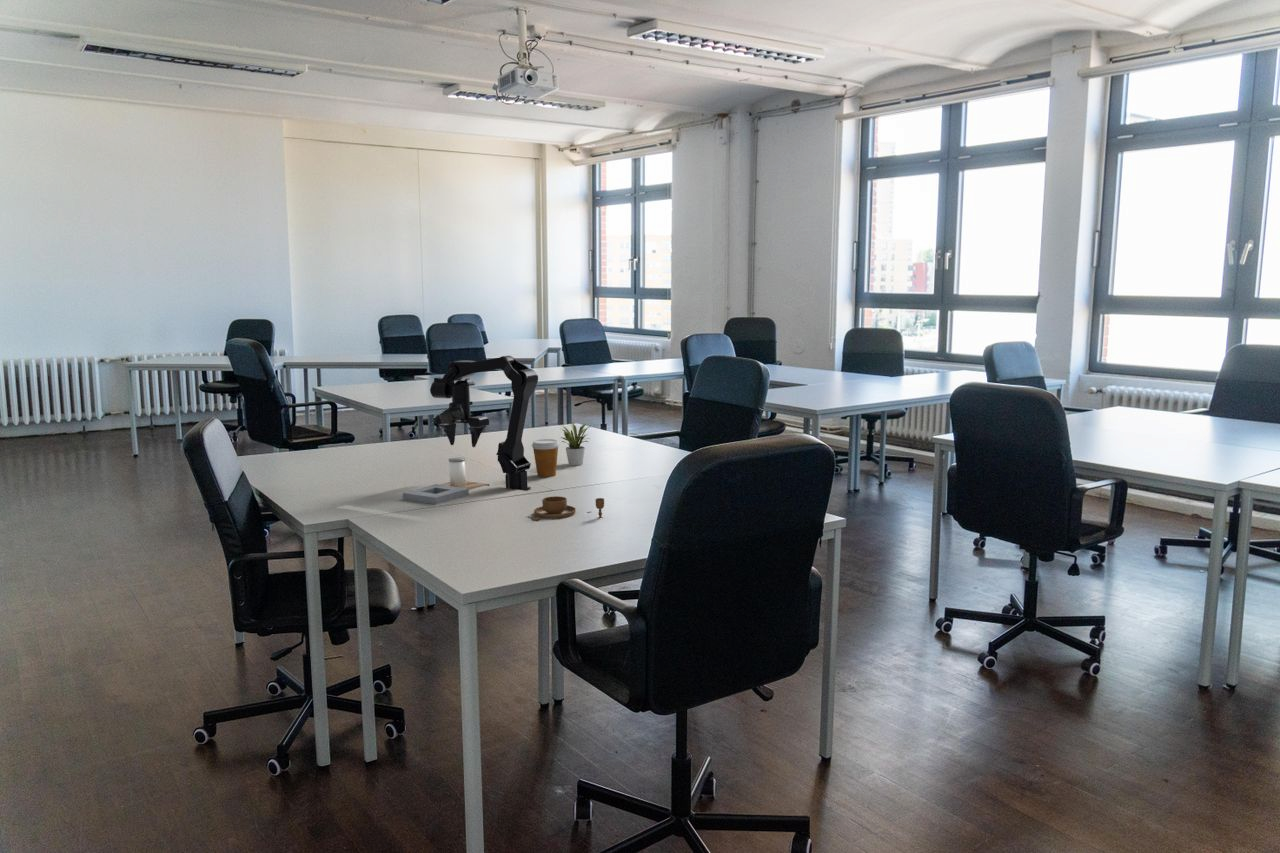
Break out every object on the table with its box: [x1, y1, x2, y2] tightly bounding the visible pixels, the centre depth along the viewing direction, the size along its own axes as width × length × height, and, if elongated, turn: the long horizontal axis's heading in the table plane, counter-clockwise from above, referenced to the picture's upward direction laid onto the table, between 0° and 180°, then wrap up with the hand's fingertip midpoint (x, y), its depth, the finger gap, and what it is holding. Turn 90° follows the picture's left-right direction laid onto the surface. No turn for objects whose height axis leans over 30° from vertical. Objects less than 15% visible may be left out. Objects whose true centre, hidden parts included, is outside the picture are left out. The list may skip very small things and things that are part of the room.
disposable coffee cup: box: [531, 438, 560, 478], centre depth 314 cm, size 10×10×12 cm
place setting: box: [525, 495, 605, 521], centre depth 257 cm, size 18×20×6 cm
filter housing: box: [402, 483, 470, 505], centre depth 280 cm, size 14×14×3 cm
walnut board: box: [440, 480, 490, 491], centre depth 295 cm, size 14×14×1 cm
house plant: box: [559, 422, 596, 466], centre depth 333 cm, size 14×14×16 cm
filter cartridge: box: [448, 456, 467, 487], centre depth 294 cm, size 5×5×9 cm
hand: (462, 446), depth 299 cm, fingers open, 9 cm apart
